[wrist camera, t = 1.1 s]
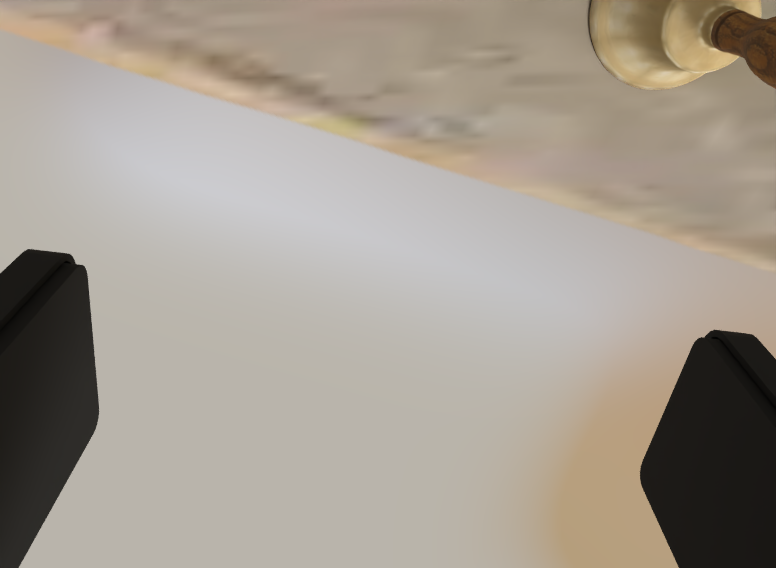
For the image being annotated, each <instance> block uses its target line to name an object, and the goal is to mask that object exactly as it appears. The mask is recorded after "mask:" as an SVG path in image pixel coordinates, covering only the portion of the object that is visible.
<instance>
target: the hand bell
mask: <svg viewBox="0 0 776 568" xmlns="http://www.w3.org/2000/svg"><path fill="white" fill-rule="evenodd" d="M589 24H590V34H591V39H592V43H593V46H594V49H595V52H596V54H597V56H598V58H599V59H600V61H601V62H602V64H603V66H604V67H605V68H606V69H607V71H609V72H610V73H611V74H612V75H613V76H614V77H616V78H617V79H619V80H620V81H622V82H624V83H626V84H628V85H630V86H633V87H636V88H640V89H646V90H663V89H670V88H674V87H678V86H681V85H684V84H687V83H689V82H691V81H693V80H695V79H697V78H699V77H700V76H702V75H703V74H705V73H706V72H712V71H715V70H718V69H721V68H723V67H725V66H727V65H729V64H730V63H732V62H733V61H735V60H736V59H737V58H738V57H743V58H745V60H746V62H747V64H748V66H749V68H750V69H751V71H752V72H753V73H754V74H755V75H756V76H758V77H759V78H760V79H761V80H762V81H763V82H765V83H766V84H768V85H770V86H772V87H773V88H775V89H776V17H772V18H769V19H761V0H592V3H591V8H590V17H589Z"/></svg>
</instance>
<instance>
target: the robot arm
mask: <svg viewBox="0 0 776 568" xmlns="http://www.w3.org/2000/svg"><path fill="white" fill-rule="evenodd" d="M98 415H99V403H98V391H97V379H96V368H95V357H94V345H93V333H92V322H91V312H90V299H89V288H88V276H87V271H86V268H85V267H84V266H83V265H77V264H75V261H74V259H73V257H72V256H71V255H70V254H67V253H57V252H49V251H40V250H32V249H28V250H26V251H24V252H23V253H22V254H21V255H20V256H19V257H17V258H16V259H15V260H14V261H13V262H12V263H11V264H10V265H9V266H8V267H7V268H6V269H5V270H4V271H3V272H2V273H0V568H19V566H20V564H21V562H22V560H23V559H24V557H25V555H26V553H27V552H28V550H29V548H30V546H31V544H32V543H33V541H34V539H35V537H36V535H37V533H38V532H39V530H40V528H41V526H42V524H43V523H44V521H45V519H46V518H47V516H48V514H49V512H50V510H51V509H52V507H53V505H54V503H55V501H56V500H57V498H58V496H59V494H60V492H61V491H62V489H63V487H64V485H65V484H66V482H67V480H68V478H69V476H70V475H71V473H72V471H73V469H74V467H75V465H76V464H77V462H78V460H79V458H80V457H81V455H82V453H83V451H84V450H85V448H86V446H87V444H88V442H89V441H90V439H91V437H92V435H93V433H94V431H95V429H96V425H97V422H98ZM640 480H641V485H642V488H643V490H644V492H645V494H646V497H647V499H648V501H649V503H650V505H651V507H652V510H653V512H654V514H655V516H656V518H657V521H658V523H659V525H660V527H661V529H662V532H663V534H664V536H665V538H666V540H667V543H668V545H669V547H670V549H671V551H672V553H673V556H674V557H675V560H676V562H677V564H678V567H679V568H776V359H775V358H774V357H773V356H772V355H771V353H770V352H769V351H768V350H767V349H766V348H765V347H764V346H763V344H762V343H761V342H760V341H759V340H758V339H757V338H756V337H755V336H753V335H752V334H746V333H737V332H728V331H720V330H713V331H710V332H709V333H708V334H707V335H706V336H705V338H702V337H701V338H699V339H697V340H696V341H695V342H694V344H693V346H692V348H691V351H690V353H689V355H688V358H687V360H686V362H685V364H684V367H683V369H682V372H681V374H680V376H679V378H678V381H677V383H676V385H675V388H674V390H673V392H672V394H671V397H670V399H669V402H668V404H667V406H666V409H665V411H664V413H663V415H662V418H661V420H660V422H659V425H658V427H657V429H656V432H655V434H654V436H653V438H652V441H651V443H650V445H649V448H648V450H647V452H646V455H645V457H644V459H643V462H642V465H641V470H640Z"/></svg>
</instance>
